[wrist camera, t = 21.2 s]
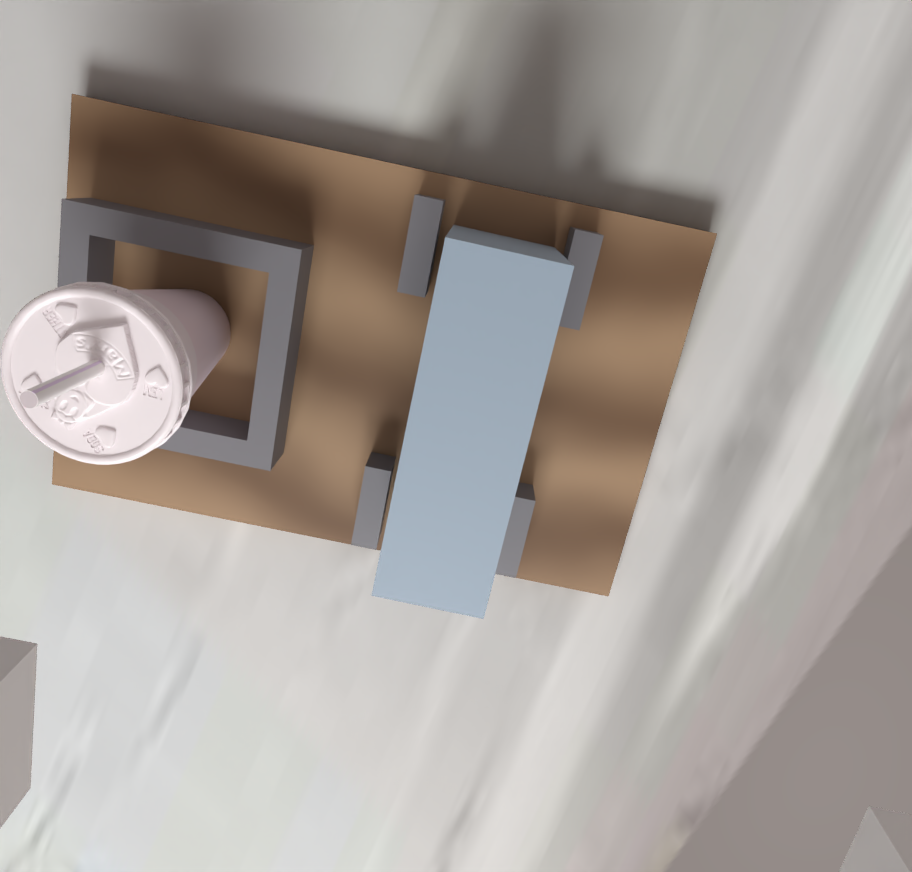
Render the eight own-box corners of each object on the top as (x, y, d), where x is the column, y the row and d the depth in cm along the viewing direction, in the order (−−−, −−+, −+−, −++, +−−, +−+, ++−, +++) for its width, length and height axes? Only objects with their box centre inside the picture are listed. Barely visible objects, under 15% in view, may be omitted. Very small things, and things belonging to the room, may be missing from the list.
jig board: (85, 96, 35) (71, 93, 33) (709, 232, 35) (717, 233, 34) (64, 475, 40) (52, 484, 39) (604, 584, 41) (608, 596, 40)
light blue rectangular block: (483, 533, 39) (483, 619, 31) (393, 514, 39) (371, 595, 31) (554, 247, 35) (574, 265, 27) (453, 224, 35) (445, 237, 27)
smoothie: (287, 318, 36) (171, 397, 23) (211, 424, 38) (61, 556, 24) (167, 228, 35) (-28, 255, 22) (95, 341, 37) (-128, 431, 23)
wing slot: (418, 193, 34) (414, 194, 32) (597, 232, 34) (603, 235, 33) (357, 526, 39) (351, 544, 37) (514, 558, 39) (515, 577, 37)
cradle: (90, 197, 35) (61, 198, 32) (314, 244, 35) (301, 250, 33) (77, 410, 38) (50, 426, 35) (283, 452, 38) (270, 471, 36)
